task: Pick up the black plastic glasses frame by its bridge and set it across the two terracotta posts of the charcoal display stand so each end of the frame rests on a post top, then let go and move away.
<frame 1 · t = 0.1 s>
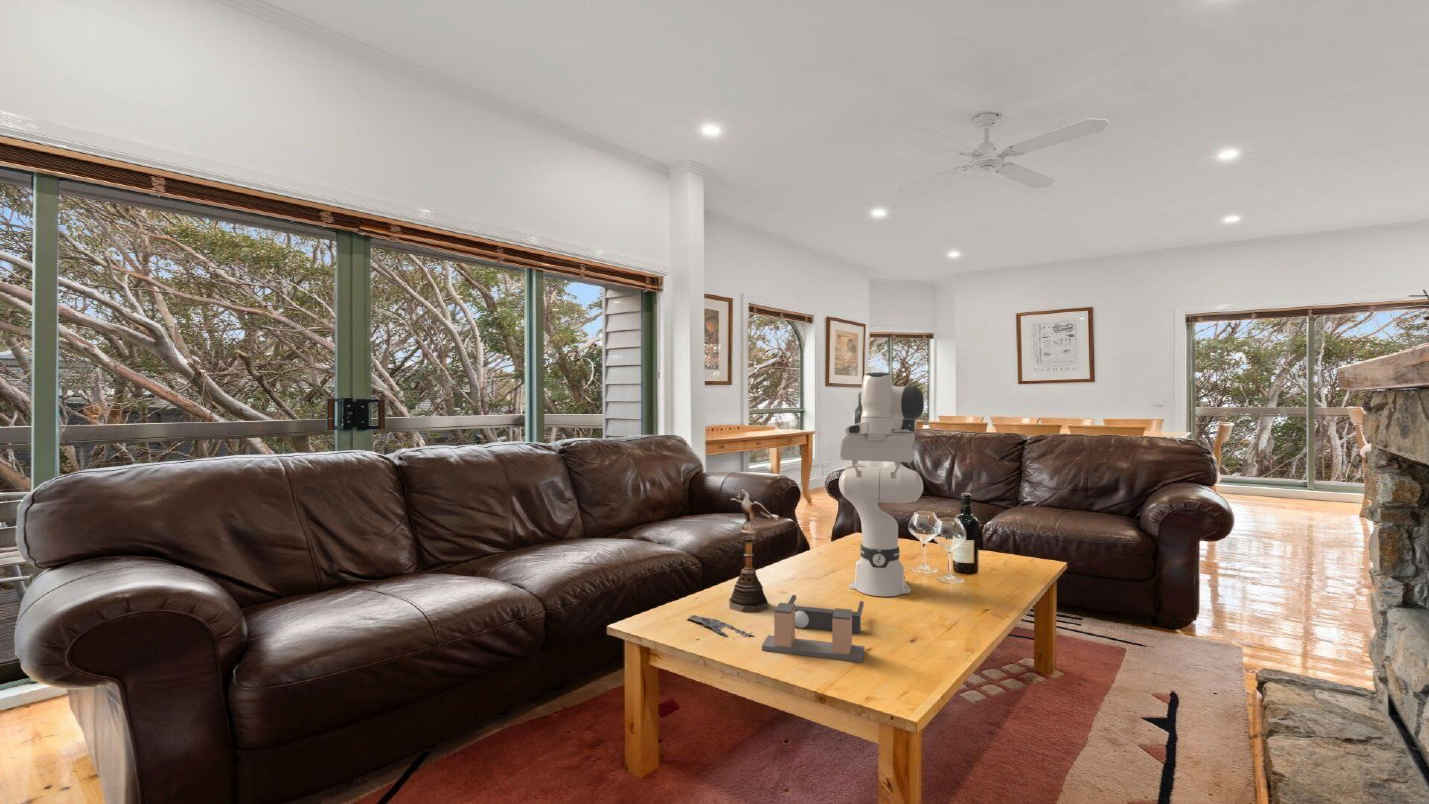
hand: (875, 477, 184), 39 cm above the table, tool pointing down, fingers open, 8 cm apart
bird statue: (751, 603, 195), on the table
glasses: (822, 628, 175), on the table
driftwood: (716, 630, 175), on the table
display stand: (813, 650, 160), on the table
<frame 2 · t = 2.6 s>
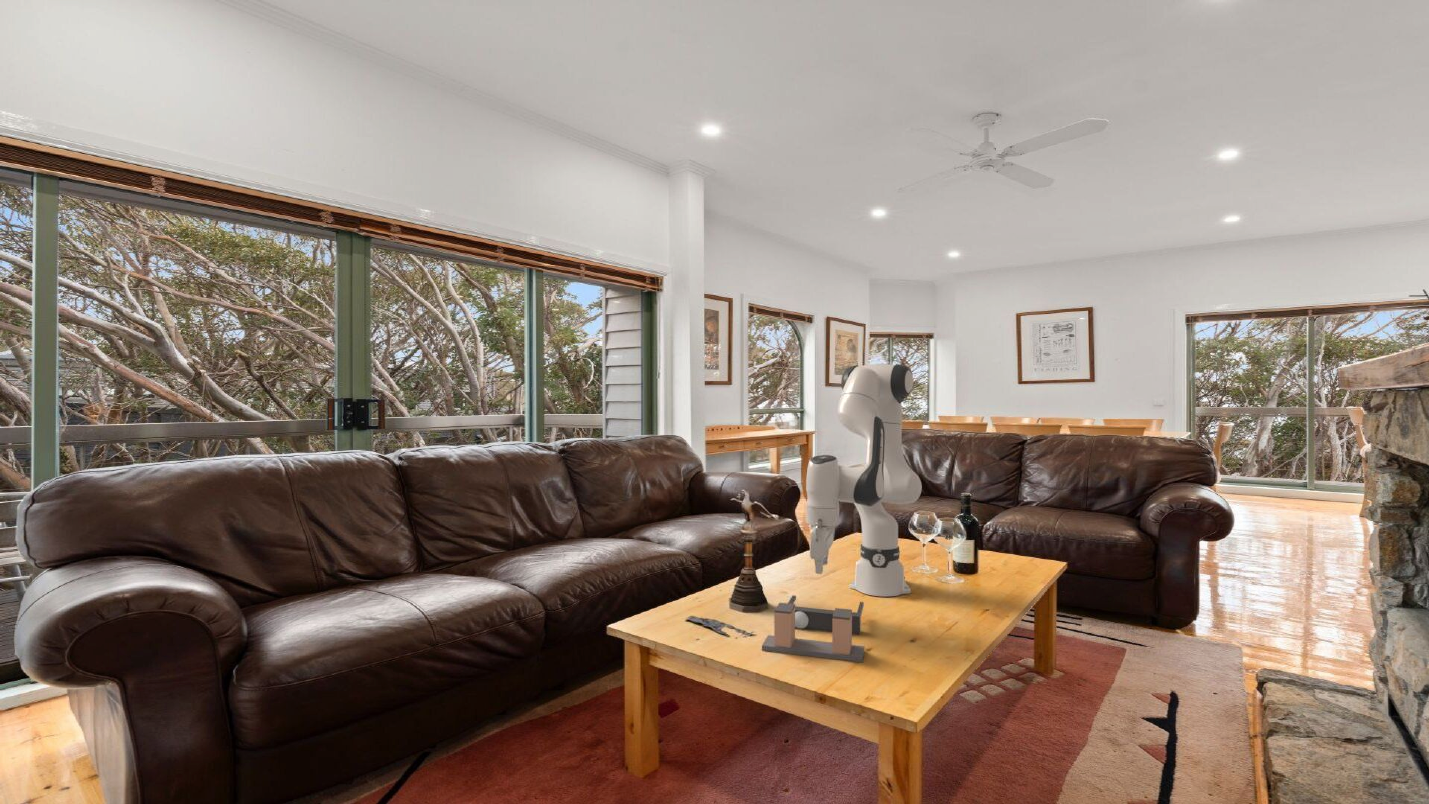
hand: (821, 568, 174), 16 cm above the table, tool pointing down, fingers open, 8 cm apart
nothing on the table moved.
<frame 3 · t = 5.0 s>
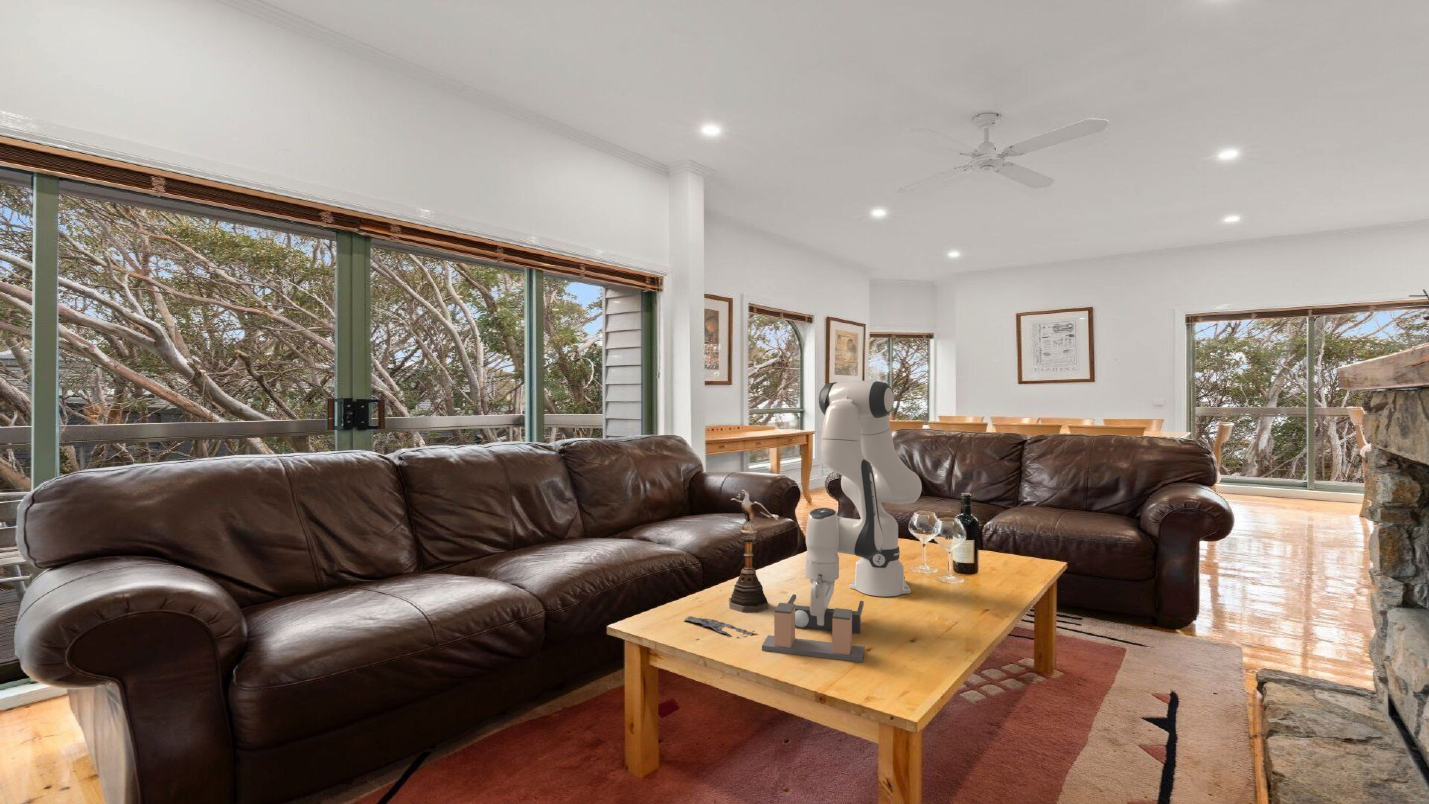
hand: (822, 621, 175), 2 cm above the table, tool pointing down, fingers closed on glasses, 3 cm apart
glasses: (822, 628, 175), on the table, touching gripper
everything else where it was.
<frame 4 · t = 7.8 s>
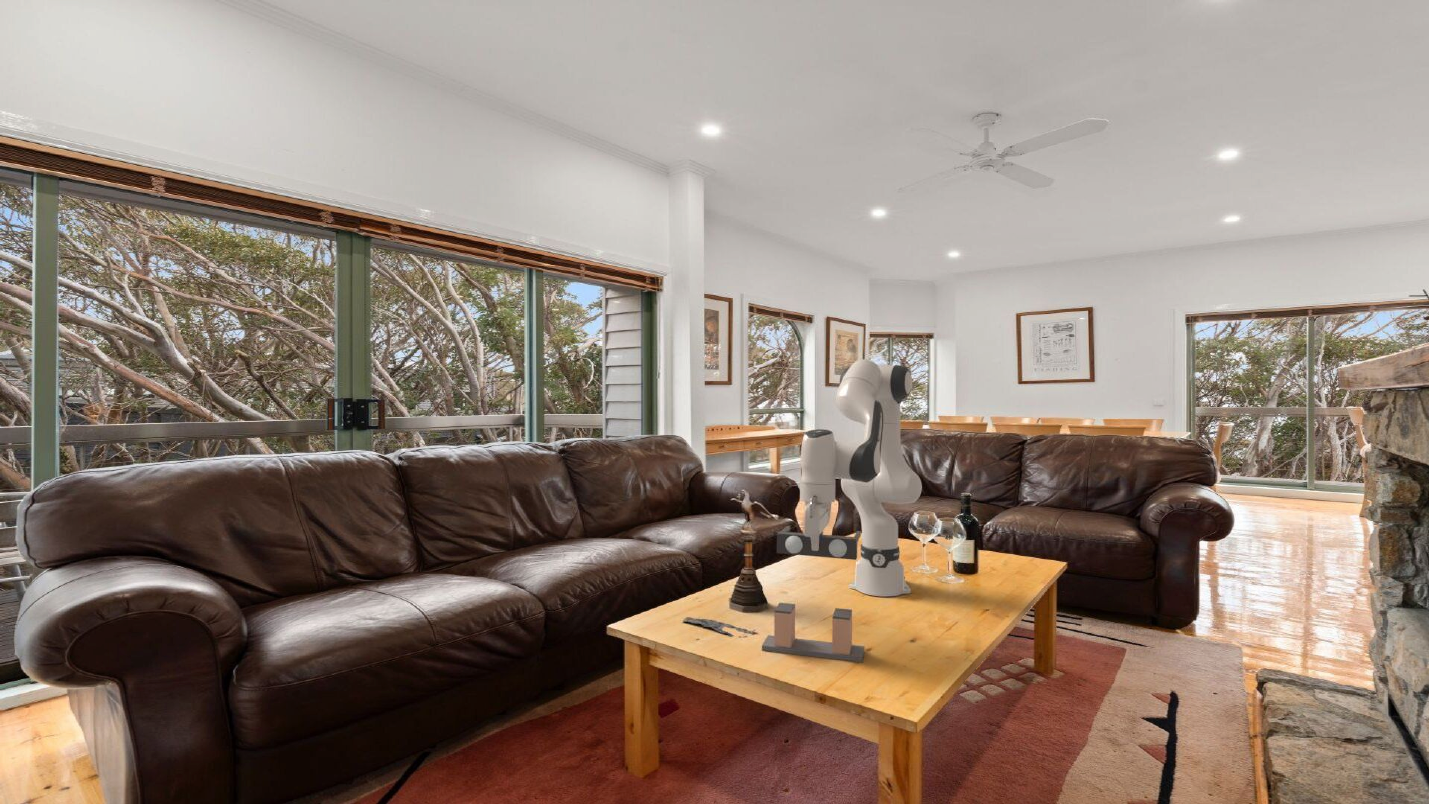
hand: (816, 548, 166), 23 cm above the table, tool pointing down, fingers closed on glasses, 3 cm apart
glasses: (816, 555, 166), point 22 cm above the table, touching gripper
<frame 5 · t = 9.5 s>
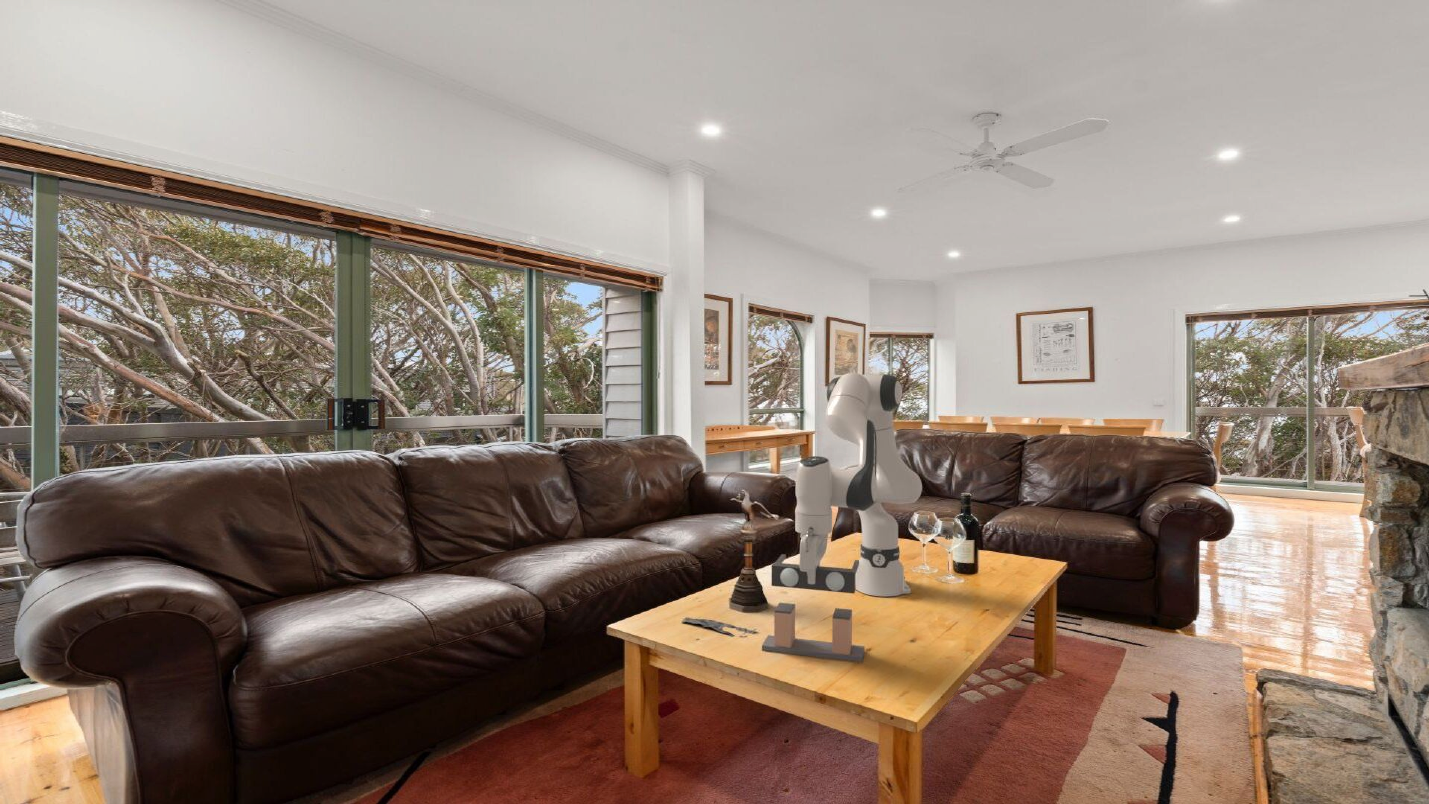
hand: (813, 580, 159), 17 cm above the table, tool pointing down, fingers closed on glasses, 3 cm apart
glasses: (813, 587, 159), point 15 cm above the table, touching gripper
when the fingers open (13 cm above the table, at t = 11.0 s): glasses stays where it is, resting on display stand.
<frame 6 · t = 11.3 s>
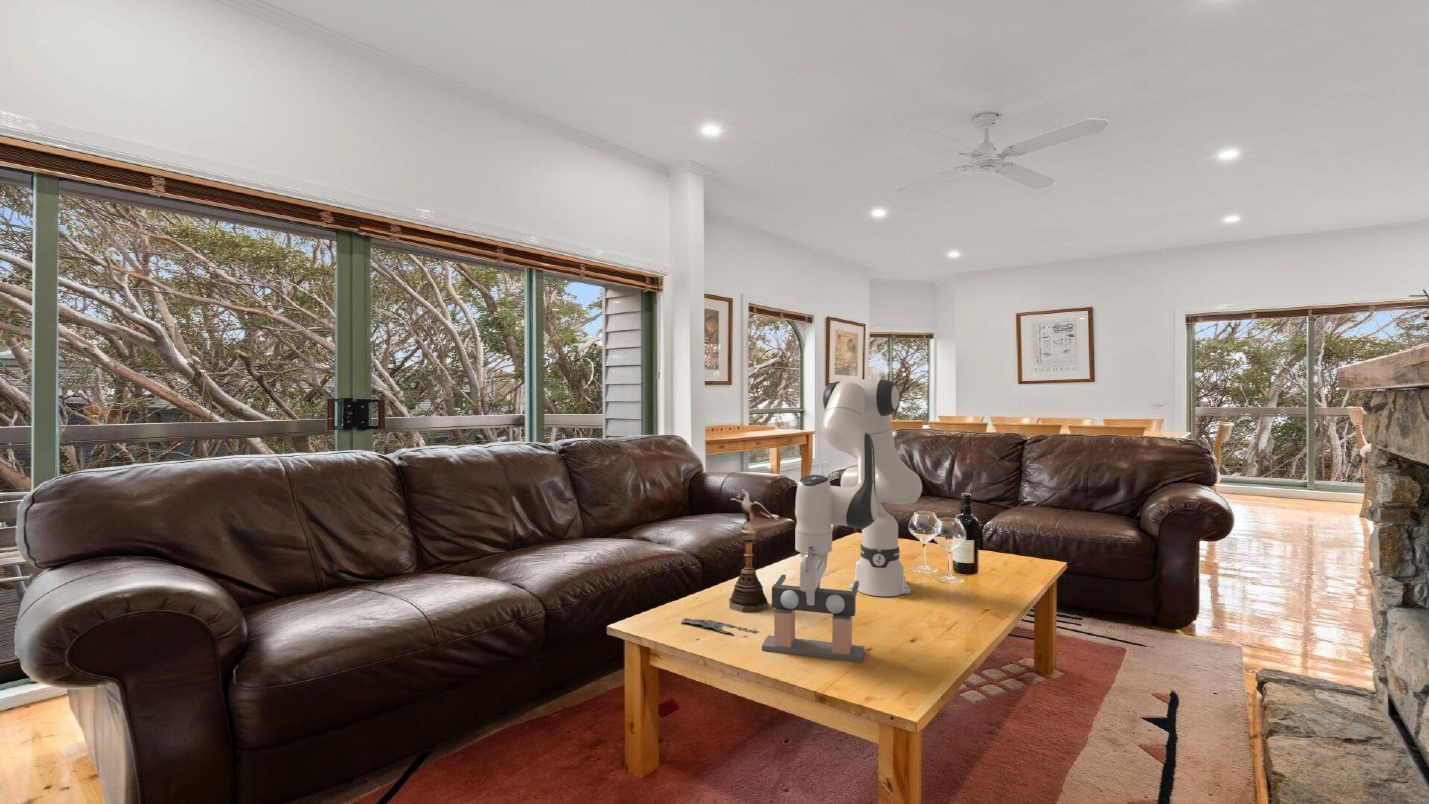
hand: (813, 599, 159), 13 cm above the table, tool pointing down, fingers open, 6 cm apart
glasses: (813, 609, 159), point 10 cm above the table, touching display stand
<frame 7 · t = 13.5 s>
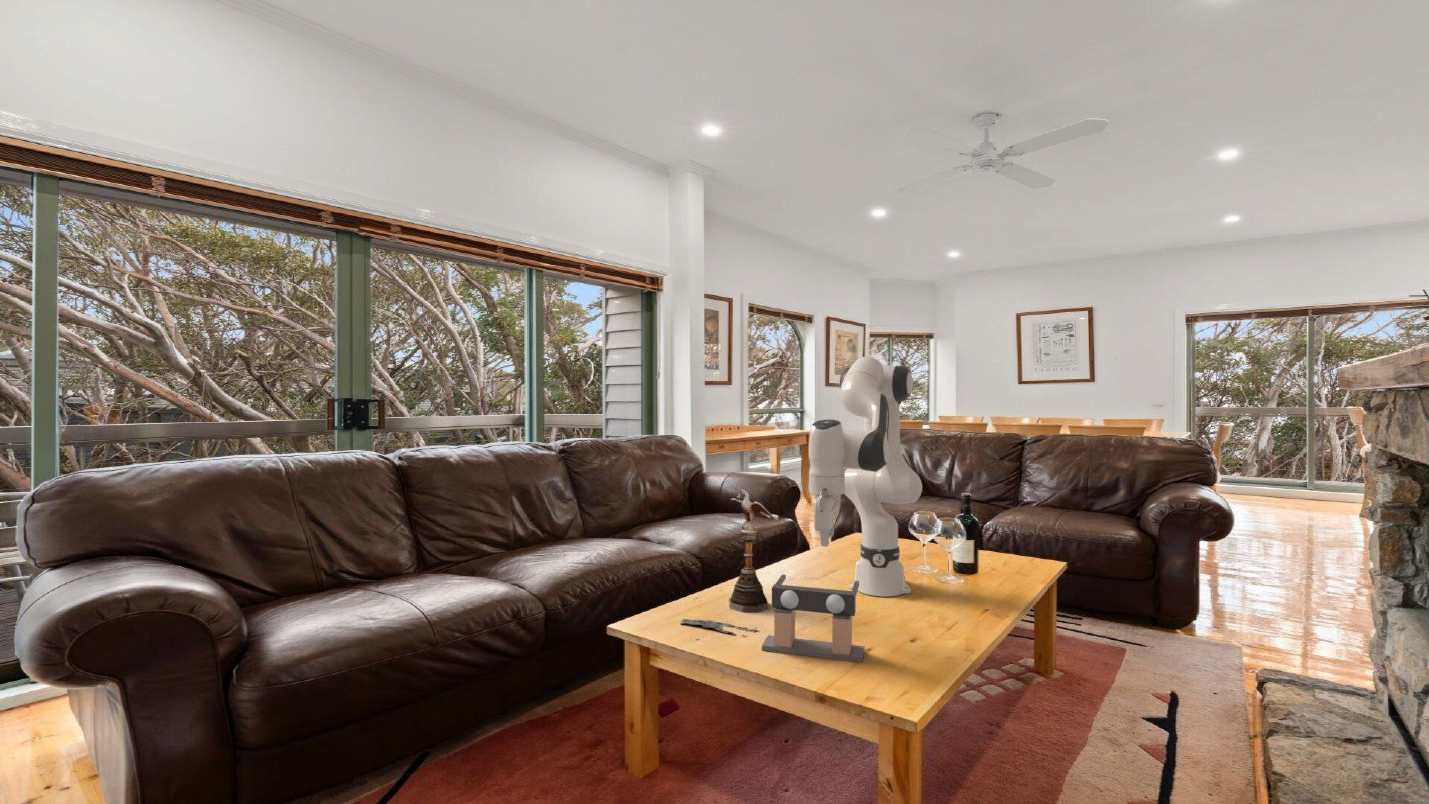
hand: (827, 540, 163), 26 cm above the table, tool pointing down, fingers open, 8 cm apart
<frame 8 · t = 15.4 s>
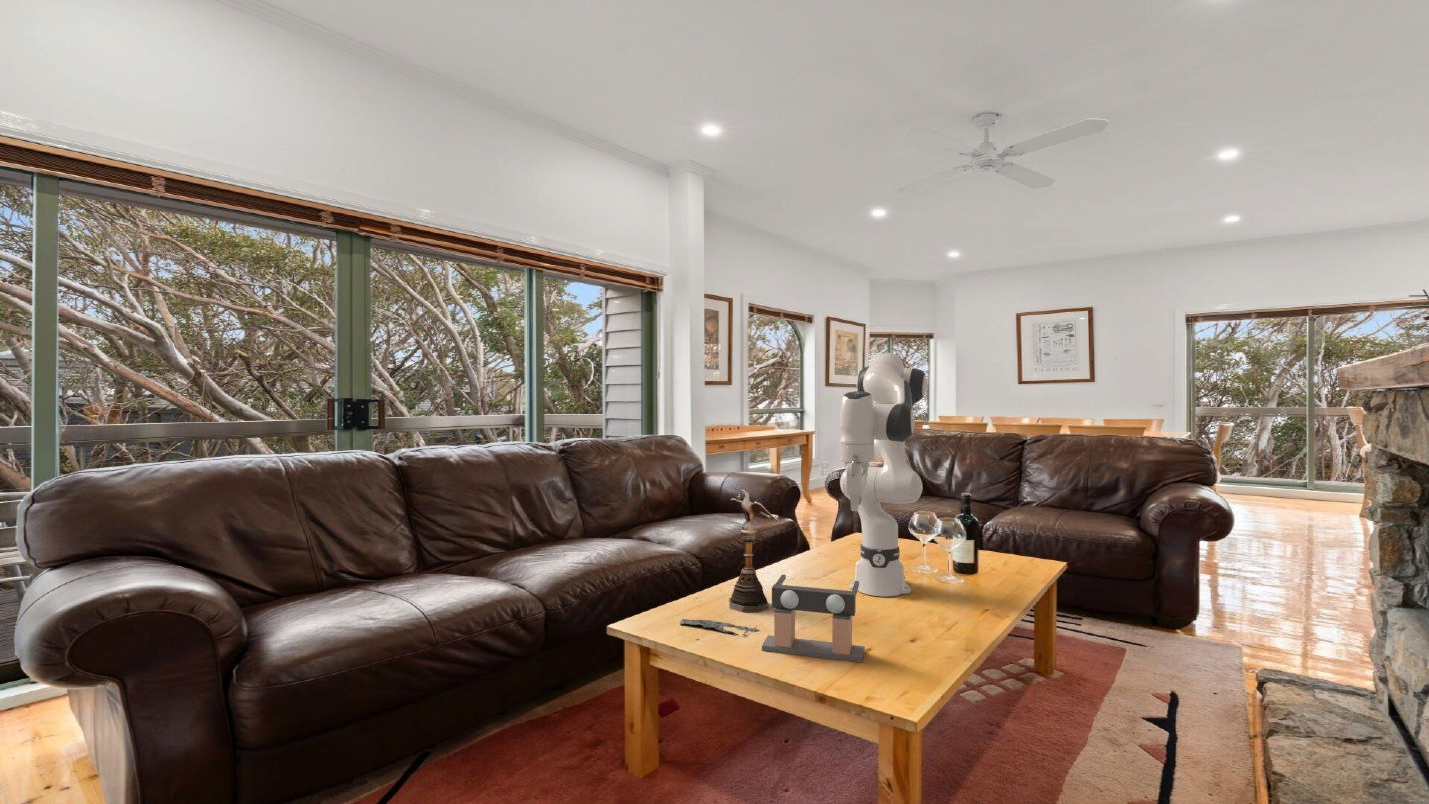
hand: (856, 507, 170), 33 cm above the table, tool pointing down, fingers open, 8 cm apart
at the end: glasses inside the target area on the display stand (0.1 cm from its centre), point 10.0 cm above the display stand's base; glasses touching display stand; the gripper is holding nothing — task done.
